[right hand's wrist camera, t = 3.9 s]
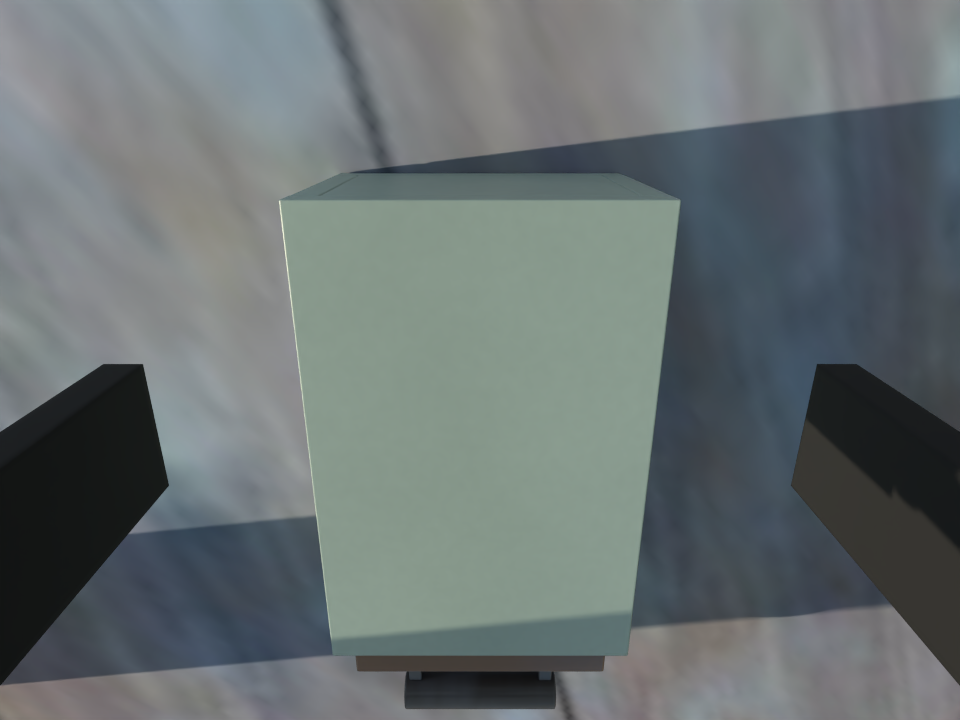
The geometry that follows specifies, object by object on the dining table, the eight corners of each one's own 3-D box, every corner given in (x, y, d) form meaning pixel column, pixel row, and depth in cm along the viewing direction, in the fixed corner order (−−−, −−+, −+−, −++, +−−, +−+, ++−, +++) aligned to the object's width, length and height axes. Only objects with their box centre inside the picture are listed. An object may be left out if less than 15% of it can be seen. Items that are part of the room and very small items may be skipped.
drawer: (574, 653, 33) (594, 766, 27) (385, 653, 33) (366, 765, 27) (604, 255, 25) (641, 297, 19) (355, 255, 25) (318, 297, 19)
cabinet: (592, 525, 31) (627, 656, 23) (368, 525, 31) (332, 656, 23) (621, 173, 25) (681, 199, 17) (339, 173, 25) (278, 199, 17)
